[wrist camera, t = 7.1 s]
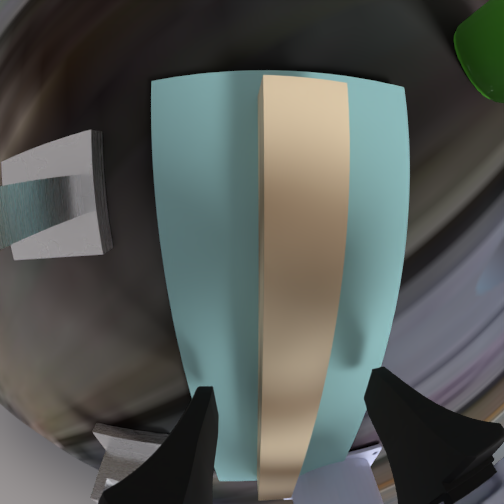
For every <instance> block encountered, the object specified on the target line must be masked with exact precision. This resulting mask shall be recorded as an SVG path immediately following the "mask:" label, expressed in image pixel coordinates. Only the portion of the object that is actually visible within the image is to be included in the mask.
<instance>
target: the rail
mask: <svg viewBox="0 0 504 504" xmlns="http://www.w3.org/2000/svg"><path fill="white" fill-rule="evenodd" d="M349 175H350V131H349V103H348V87H347V83H345V82H338V81H332V80H324V79H316V78H306V77H295V76H279V75H263V77H262V81H261V85H260V89H259V93H258V229H259V296H258V436H257V485H258V499H259V500H273V499H284V498H291V497H292V494H293V491H294V488H295V486H296V483H297V480H298V477H299V474H300V471H301V468H302V465H303V462H304V459H305V456H306V452H307V449H308V446H309V442H310V439H311V435H312V432H313V428H314V424H315V421H316V417H317V413H318V409H319V405H320V401H321V397H322V392H323V388H324V384H325V379H326V374H327V370H328V365H329V360H330V355H331V349H332V344H333V338H334V332H335V326H336V320H337V314H338V307H339V300H340V292H341V284H342V276H343V267H344V257H345V247H346V235H347V221H348V203H349Z"/></svg>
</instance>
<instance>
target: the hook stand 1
mask: <svg viewBox="0 0 504 504" xmlns="http://www.w3.org/2000/svg"><path fill="white" fill-rule="evenodd" d="M1 168H2V186H0V250H1V249H3V248H5V247H7V246H9V245H11V249H12V253H13V258H14V260H25V259H40V258H56V257H72V256H88V255H103V254H105V253H106V252H108V251H109V250H110V249H112V248H113V243H112V237H111V230H110V223H109V216H108V207H107V198H106V188H105V176H104V160H103V132H101V131H97V130H92V129H91V130H87V131H84V132H80V133H77V134H73V135H70V136H67V137H64V138H61V139H58V140H55V141H52V142H49V143H46V144H43V145H41V146H38V147H35V148H33V149H30V150H28V151H25V152H23V153H20V154H18V155H16V156H13V157H11V158H9V159H6V160H4V161H2V162H1Z"/></svg>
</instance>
